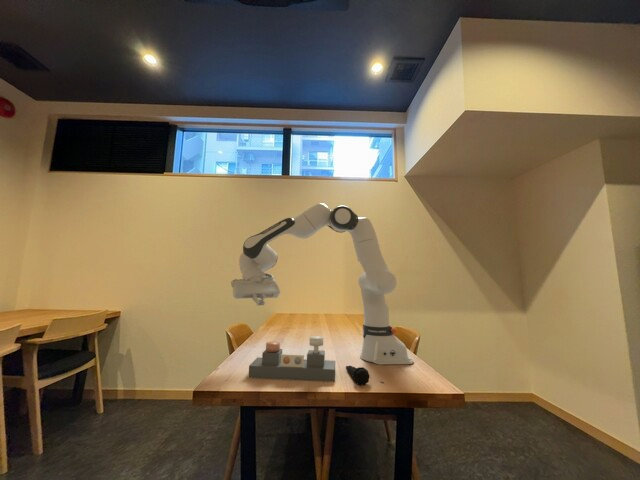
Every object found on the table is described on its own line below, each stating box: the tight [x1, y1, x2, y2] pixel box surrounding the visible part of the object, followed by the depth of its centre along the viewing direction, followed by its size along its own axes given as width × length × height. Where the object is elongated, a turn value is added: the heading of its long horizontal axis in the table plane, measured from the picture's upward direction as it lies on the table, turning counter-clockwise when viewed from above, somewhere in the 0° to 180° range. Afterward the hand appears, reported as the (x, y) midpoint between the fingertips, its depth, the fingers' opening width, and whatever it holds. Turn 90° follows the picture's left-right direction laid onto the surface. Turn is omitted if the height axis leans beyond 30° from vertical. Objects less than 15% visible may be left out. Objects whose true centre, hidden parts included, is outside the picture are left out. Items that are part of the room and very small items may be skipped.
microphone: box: [345, 365, 370, 386], centre depth 99 cm, size 6×6×20 cm
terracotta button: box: [265, 341, 281, 352], centre depth 101 cm, size 5×5×6 cm
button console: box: [247, 348, 336, 383], centre depth 100 cm, size 30×10×8 cm, turn 86°
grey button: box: [309, 335, 324, 354], centre depth 100 cm, size 5×5×6 cm
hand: (261, 304), depth 114 cm, fingers closed
